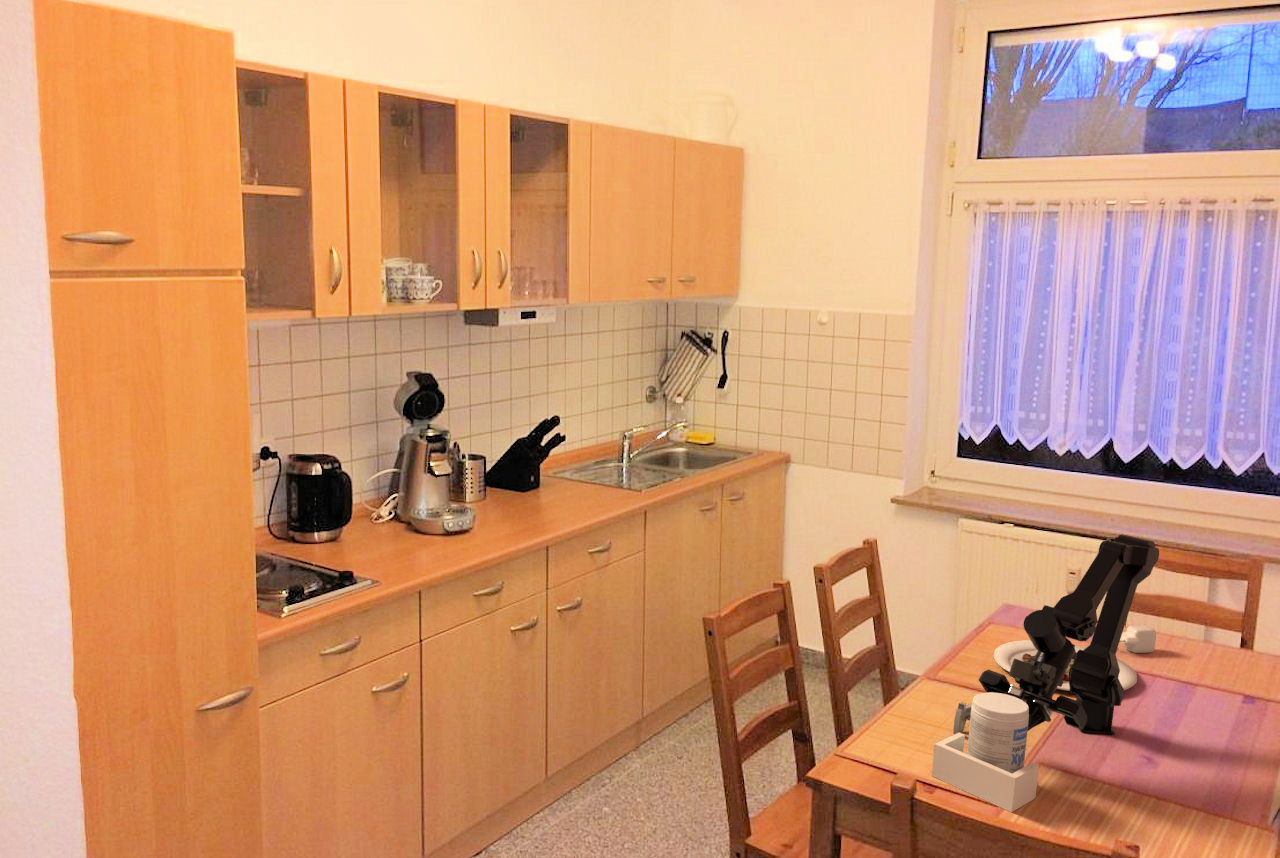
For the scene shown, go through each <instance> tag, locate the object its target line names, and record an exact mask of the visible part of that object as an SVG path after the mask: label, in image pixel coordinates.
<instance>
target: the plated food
mask: <svg viewBox="0 0 1280 858" xmlns="http://www.w3.org/2000/svg"><path fill="white" fill-rule="evenodd" d="M1074 645H1075V651H1076V653H1077V652H1078V651H1079V650H1084V649H1085V648H1087V647H1088V646H1082V645H1080V644H1079V645H1078V644H1074ZM1037 651H1038V650H1037V649H1036V648H1035V647H1034V645H1033V643H1032V642H1031V640H1030V639H1025V640H1023V639H1022V640H1014V641H1009V642H1005V643H1004V644H1001V645H999V646H998V647H996V648H995V650H994V652H993V658H994V660H995V662H996V663H997V664H998V665H999V666H1000V667H1001V668H1002V669H1004V671H1007V672H1010V669H1011V666H1012V663H1013V660H1014V658H1015V659H1018V660H1021V661H1024V662H1027V661H1028V660H1029V659H1030V658H1031V659H1034V657H1035V655H1036V653H1037ZM1117 662H1118V665H1119V669H1120V672H1119V676H1118V679H1119V681H1120V683H1121V685H1122V687H1123V689H1124V691H1127V690H1128V689H1130V688H1132V687H1134V686H1135V685H1136V683H1138V682H1137V680H1138V675H1137V673H1136V671H1135V670H1134V669H1133V668H1132V666H1130V665H1129V664H1127V663H1126V662H1124V661H1123V660H1121V659H1120V658H1117ZM1073 663H1074V660H1073V659H1071V661H1070V663H1069V665H1068V667H1067V669H1066V671H1065V673H1064V675H1063V677H1062V681H1063V684H1062V686H1061V687H1059V686H1058V687H1057V689H1056V690H1062V691H1069V692H1070V686H1069V670H1070V668H1071V666H1072V665H1073Z"/></svg>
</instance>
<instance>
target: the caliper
mask: <svg viewBox="0 0 1280 858" xmlns="http://www.w3.org/2000/svg"><path fill="white" fill-rule="evenodd" d="M971 708H972V704H967V703H966V702H963V701H961V702H958V706H957V708H956V711H955V715H954V716H955V717H954V721H953V733H952V734H953V735H955V734H957V733H959V732H960V733H962V734H964V729H965V726H966V724H967V723H966V722H967V721H970V717H971Z"/></svg>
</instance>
